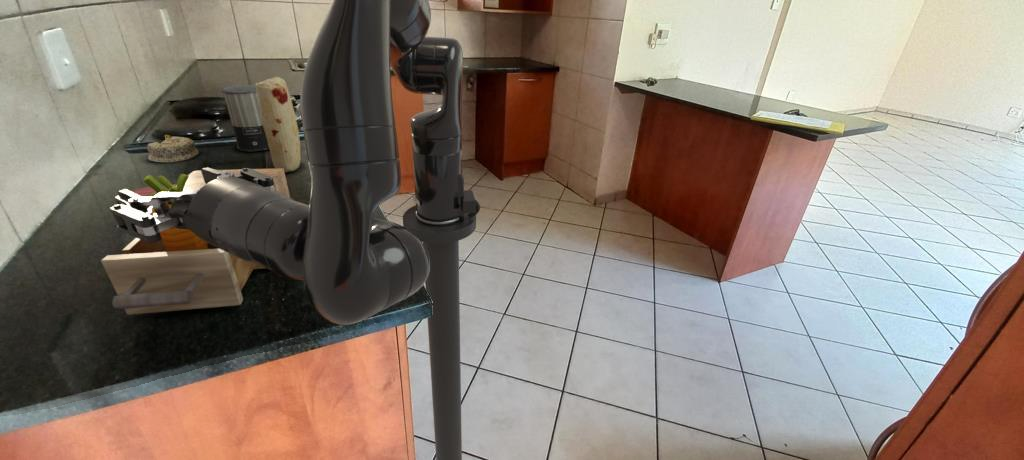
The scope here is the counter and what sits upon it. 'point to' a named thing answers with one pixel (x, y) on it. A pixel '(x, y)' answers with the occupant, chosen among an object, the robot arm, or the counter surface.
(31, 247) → the counter surface
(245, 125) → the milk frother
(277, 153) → the food model
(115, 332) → the counter surface
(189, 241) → the carrot
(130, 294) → the drawer
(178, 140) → the cake
